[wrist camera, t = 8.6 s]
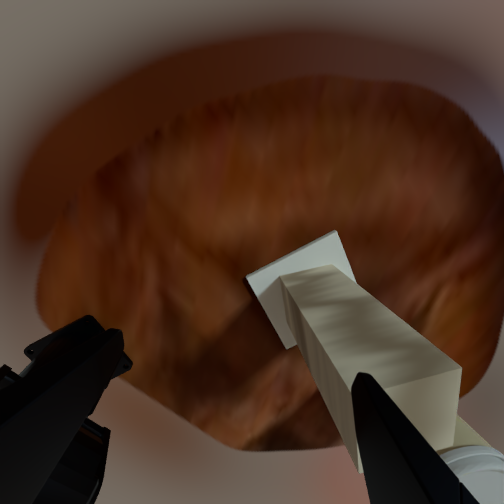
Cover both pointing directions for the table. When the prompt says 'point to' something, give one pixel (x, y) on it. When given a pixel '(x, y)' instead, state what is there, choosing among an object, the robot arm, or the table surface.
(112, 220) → the table surface
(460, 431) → the coffee cup
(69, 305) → the table surface
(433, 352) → the letter block
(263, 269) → the ceramic tile
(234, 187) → the table surface
